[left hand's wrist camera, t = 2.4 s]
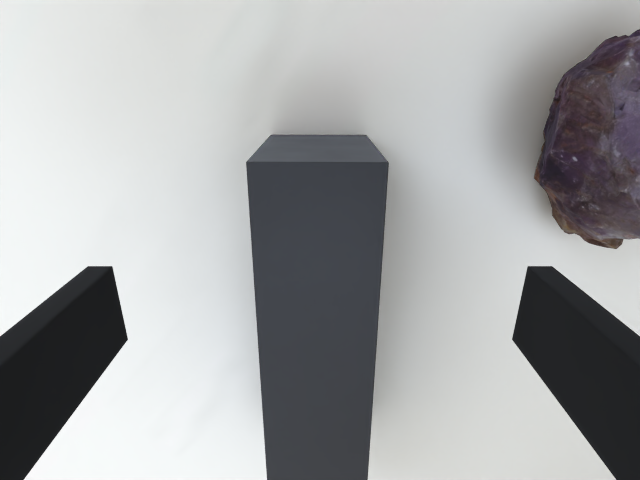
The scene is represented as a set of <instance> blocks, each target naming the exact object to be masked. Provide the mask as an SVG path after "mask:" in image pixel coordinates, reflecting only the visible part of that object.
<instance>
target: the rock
mask: <svg viewBox="0 0 640 480" xmlns="http://www.w3.org/2000/svg"><path fill="white" fill-rule="evenodd" d="M543 134H544V139H545V142H544V144H543V146H542V150H541V151H542V153H541V155H540V158H539V161H538V164H537V167H536V171H535V176H534V179H535V180H536V181H537V182H538V183H539V184H540V185H541V186H542V187H543V188H544V189H545V191H546V192H547V193H548V197H549V199H550V202H551V206H552V216H553V217H554V219H555V220H556V221H557V223H558V225H559V226H560V228H561V229H562V230H563V231H564V232H565V233H568V234H573V233H575V234H577V235H579V236H581V237H582V238H583V240H585V241H586V242H588V243H591V244H594V245H598V246H602V247H607V248H613V249H617V248H618V247H619V246H620V245H621V244H622V242H623V239H635V238H640V29H639V30H637V31H635V32H634V33H633V34H631V35H630V36H629V37H628V36H626V35H624V36H621V37H617V36H614V37H612V38H609V39H607V40H605V41H604V42H603V43H602V44H600V45H599V46H598V47H597V48H596V50H595V51H594V52H593V53H592V54H591V55H590V56H589V57H588V58H587V59H585V60H584V61H582V62H580V63H578V64H577V65H576V66H574V67H573V68H571V69H570V70H569V71H568V72H566V73H565V74H564V76H563V77H562V79H561V80H560V82H559V84H558V86H557V88H556V90H555V97H554V100H553V103H552V105H551V107H550V114H549V117H548V119H547V122H546V125H545V128H544V131H543Z"/></svg>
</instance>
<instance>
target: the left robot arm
mask: <svg viewBox="0 0 640 480" xmlns="http://www.w3.org/2000/svg"><path fill="white" fill-rule="evenodd" d="M127 340H128V338H127V334H126V329H125V324H124V319H123V315H122V310H121V305H120V301H119V296H118V291H117V287H116V282H115V277H114V273H113V268H112V266H88V267H87V268H85V269H84V270H83V271H82V272H80V273H79V274H78V275H77V276H75V277H74V278H73V279H72V280H70V281H69V282H68V283H67V284H65V285H64V286H63V287H62V288H60V289H59V290H58V291H57V292H55V293H54V294H53V295H52V296H50V297H49V298H48V299H47V300H45V301H44V302H43V303H42V304H40V305H39V306H38V307H37V308H35V309H34V310H33V311H32V312H30V313H29V314H28V315H27V316H25V317H24V318H23V319H22V320H20V321H19V322H18V323H17V324H15V325H14V326H13V327H12V328H10V329H9V330H8V331H7V332H5V333H4V334H3V335H2V336H0V480H24V478H25V477H26V476H27V474H28V473H29V472H30V470H31V469H32V468H33V466H34V465H35V464H36V462H37V461H38V460H39V458H40V457H41V455H42V454H43V453H44V451H45V450H46V449H47V447H48V446H49V445H50V443H51V442H52V441H53V439H54V438H55V437H56V435H57V434H58V433H59V431H60V430H61V429H62V427H63V426H64V425H65V423H66V422H67V421H68V419H69V418H70V416H71V415H72V414H73V412H74V411H75V410H76V408H77V407H78V406H79V404H80V403H81V402H82V400H83V399H84V398H85V396H86V395H87V394H88V392H89V391H90V390H91V388H92V387H93V386H94V384H95V383H96V382H97V380H98V379H99V377H100V376H101V375H102V373H103V372H104V371H105V369H106V368H107V367H108V365H109V364H110V363H111V361H112V360H113V359H114V357H115V356H116V355H117V353H118V352H119V351H120V349H121V348H122V347H123V345H124V344H125V343H126V341H127ZM512 340H513V341H514V343H515V344H516V345H517V347H518V348H519V349H520V351H521V352H522V353H523V355H524V356H525V357H526V359H527V360H528V361H529V363H530V364H531V365H532V367H533V368H534V369H535V371H536V372H537V373H538V375H539V376H540V377H541V379H542V380H543V382H544V383H545V384H546V386H547V387H548V388H549V390H550V391H551V392H552V394H553V395H554V396H555V398H556V399H557V400H558V402H559V403H560V404H561V406H562V407H563V408H564V410H565V411H566V412H567V414H568V415H569V416H570V418H571V419H572V421H573V422H574V423H575V425H576V426H577V427H578V429H579V430H580V431H581V433H582V434H583V435H584V437H585V438H586V439H587V441H588V442H589V443H590V445H591V446H592V447H593V449H594V450H595V451H596V453H597V454H598V455H599V457H600V458H601V460H602V461H603V462H604V464H605V465H606V466H607V468H608V469H609V470H610V472H611V473H612V474H613V476H614V477H615V478H616V480H640V336H638V335H637V334H636V333H635V332H633V331H632V330H631V329H630V328H628V327H627V326H626V325H625V324H623V323H622V322H621V321H620V320H618V319H617V318H616V317H615V316H613V315H612V314H611V313H610V312H608V311H607V310H606V309H605V308H603V307H602V306H601V305H600V304H598V303H597V302H596V301H595V300H593V299H592V298H591V297H590V296H588V295H587V294H586V293H585V292H583V291H582V290H581V289H580V288H578V287H577V286H576V285H575V284H573V283H572V282H571V281H570V280H568V279H567V278H566V277H565V276H563V275H562V274H561V273H560V272H558V271H557V270H556V269H555V268H553V267H552V266H528V268H527V273H526V277H525V282H524V287H523V291H522V296H521V301H520V305H519V310H518V315H517V319H516V324H515V329H514V334H513V338H512Z"/></svg>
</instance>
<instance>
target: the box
mask: <svg viewBox="0 0 640 480" xmlns="http://www.w3.org/2000/svg"><path fill="white" fill-rule="evenodd" d="M388 165H389V163H388V161H387V160H386V159H385V158H384V156H383V155H382V154H381V153H380V152H379V150H378V149H377V148H376V147H375V145H374V144H373V143H372V142H371V141H370V139H369V138H368V137H367V136H366V135H271V136H270V137H269V138H268V139H267V140H266V141H265V142H264V143H263V144H262V145H261V147H260V148H259V149H258V150H257V151H256V152H255V153H254V154H253V155H252V157H251V158H250V159H249V160H248V161H247V162H246V166H247V181H248V196H249V211H250V226H251V241H252V257H253V272H254V287H255V302H256V317H257V332H258V348H259V363H260V378H261V393H262V408H263V423H264V439H265V454H266V469H267V480H367V479H368V464H369V450H370V435H371V420H372V405H373V390H374V375H375V360H376V345H377V330H378V315H379V300H380V285H381V270H382V255H383V240H384V225H385V210H386V195H387V180H388Z"/></svg>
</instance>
